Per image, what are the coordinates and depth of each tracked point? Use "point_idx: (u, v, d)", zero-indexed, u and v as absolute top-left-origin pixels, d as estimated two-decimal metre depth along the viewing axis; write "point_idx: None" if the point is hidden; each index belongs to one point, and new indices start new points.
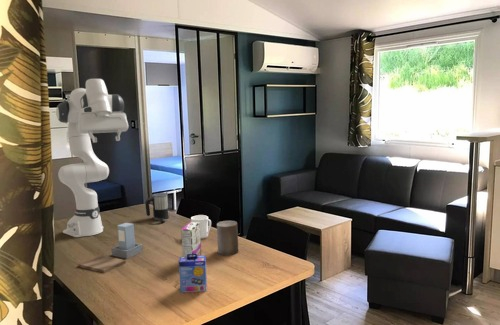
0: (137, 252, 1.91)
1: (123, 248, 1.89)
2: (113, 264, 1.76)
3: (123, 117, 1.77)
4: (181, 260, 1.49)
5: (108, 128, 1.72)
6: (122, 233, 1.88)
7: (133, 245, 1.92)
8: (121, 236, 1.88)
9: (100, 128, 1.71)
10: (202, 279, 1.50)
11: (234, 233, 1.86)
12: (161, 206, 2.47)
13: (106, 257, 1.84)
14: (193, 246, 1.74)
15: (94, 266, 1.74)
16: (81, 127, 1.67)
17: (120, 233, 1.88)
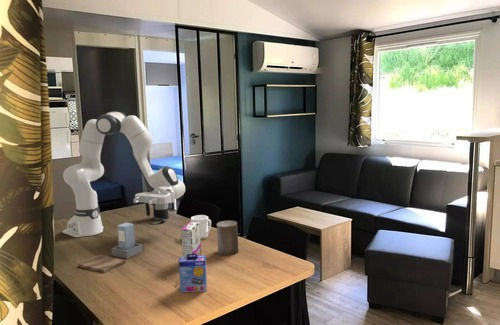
0: (137, 252, 1.91)
1: (123, 248, 1.89)
2: (113, 264, 1.76)
3: None
4: (181, 260, 1.49)
5: (147, 202, 2.04)
6: (122, 233, 1.88)
7: (133, 245, 1.92)
8: (121, 236, 1.88)
9: None
10: (202, 279, 1.50)
11: (234, 233, 1.86)
12: (162, 206, 2.46)
13: (106, 257, 1.84)
14: (193, 246, 1.74)
15: (94, 266, 1.74)
16: None
17: (120, 233, 1.88)
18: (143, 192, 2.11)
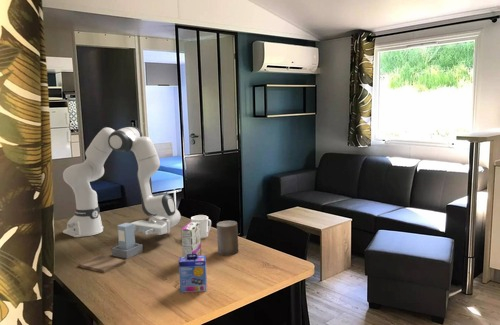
0: (137, 252, 1.91)
1: (123, 248, 1.89)
2: (113, 264, 1.76)
3: None
4: (181, 260, 1.49)
5: (142, 231, 2.02)
6: (122, 233, 1.87)
7: (133, 245, 1.92)
8: (121, 236, 1.88)
9: None
10: (202, 279, 1.50)
11: (234, 233, 1.86)
12: None
13: (106, 257, 1.84)
14: (193, 246, 1.74)
15: (94, 266, 1.74)
16: (160, 234, 1.98)
17: (120, 233, 1.88)
18: None
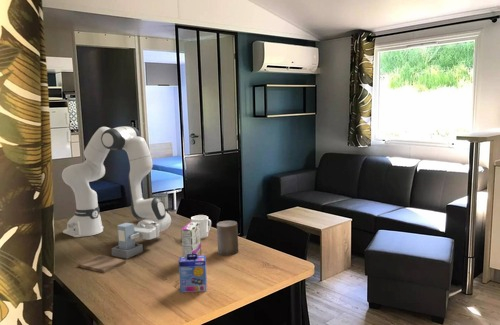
0: (137, 252, 1.91)
1: (123, 248, 1.89)
2: (113, 264, 1.76)
3: None
4: (181, 260, 1.49)
5: None
6: (122, 233, 1.88)
7: (133, 245, 1.92)
8: (121, 236, 1.88)
9: None
10: (202, 279, 1.50)
11: (234, 233, 1.86)
12: None
13: (106, 257, 1.84)
14: (193, 246, 1.74)
15: (94, 266, 1.74)
16: None
17: (120, 233, 1.88)
18: None
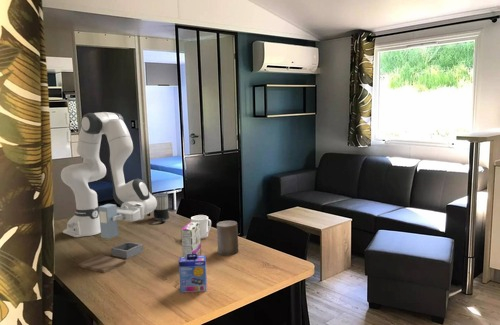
0: (137, 252, 1.91)
1: (105, 230, 1.79)
2: (113, 264, 1.76)
3: None
4: (181, 260, 1.49)
5: None
6: (104, 214, 1.77)
7: (116, 227, 1.81)
8: (103, 217, 1.78)
9: None
10: (202, 279, 1.50)
11: (234, 233, 1.86)
12: (162, 206, 2.46)
13: (106, 257, 1.84)
14: (193, 246, 1.74)
15: (94, 266, 1.74)
16: None
17: (102, 214, 1.78)
18: None
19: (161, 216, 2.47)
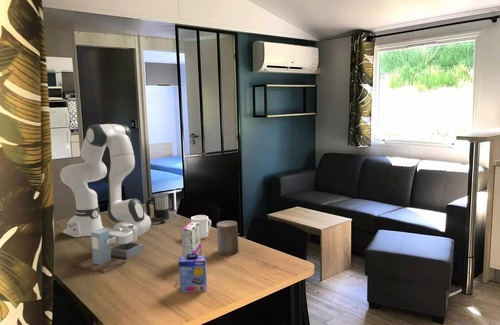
0: (137, 252, 1.91)
1: (97, 256, 1.76)
2: (113, 264, 1.76)
3: None
4: (181, 260, 1.49)
5: None
6: (96, 240, 1.74)
7: (108, 253, 1.78)
8: (95, 243, 1.75)
9: None
10: (202, 279, 1.50)
11: (234, 233, 1.86)
12: (162, 206, 2.46)
13: None
14: (193, 246, 1.74)
15: (94, 266, 1.74)
16: (125, 243, 1.78)
17: (94, 240, 1.75)
18: (102, 228, 1.89)
19: (161, 216, 2.47)
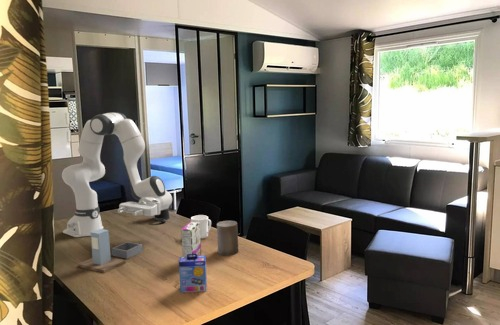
0: (137, 252, 1.91)
1: (97, 256, 1.76)
2: (113, 264, 1.76)
3: None
4: (181, 260, 1.49)
5: None
6: (95, 240, 1.74)
7: (108, 253, 1.79)
8: (94, 243, 1.75)
9: None
10: (202, 279, 1.50)
11: (234, 233, 1.86)
12: None
13: None
14: (193, 246, 1.74)
15: (94, 266, 1.74)
16: None
17: (93, 240, 1.75)
18: (128, 202, 2.03)
19: (161, 216, 2.46)
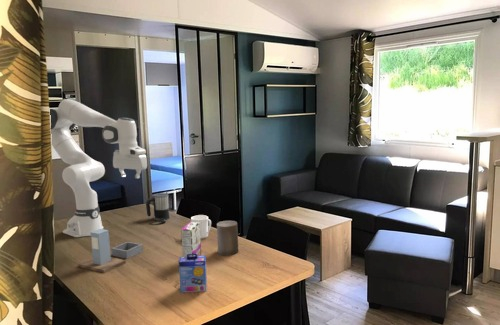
0: (137, 252, 1.91)
1: (97, 256, 1.76)
2: (113, 264, 1.76)
3: None
4: (181, 260, 1.49)
5: None
6: (95, 240, 1.74)
7: (108, 253, 1.79)
8: (94, 243, 1.75)
9: None
10: (202, 279, 1.50)
11: (234, 233, 1.86)
12: (162, 206, 2.46)
13: None
14: (193, 246, 1.74)
15: (94, 266, 1.74)
16: None
17: (93, 240, 1.75)
18: (114, 157, 2.06)
19: (161, 216, 2.46)
